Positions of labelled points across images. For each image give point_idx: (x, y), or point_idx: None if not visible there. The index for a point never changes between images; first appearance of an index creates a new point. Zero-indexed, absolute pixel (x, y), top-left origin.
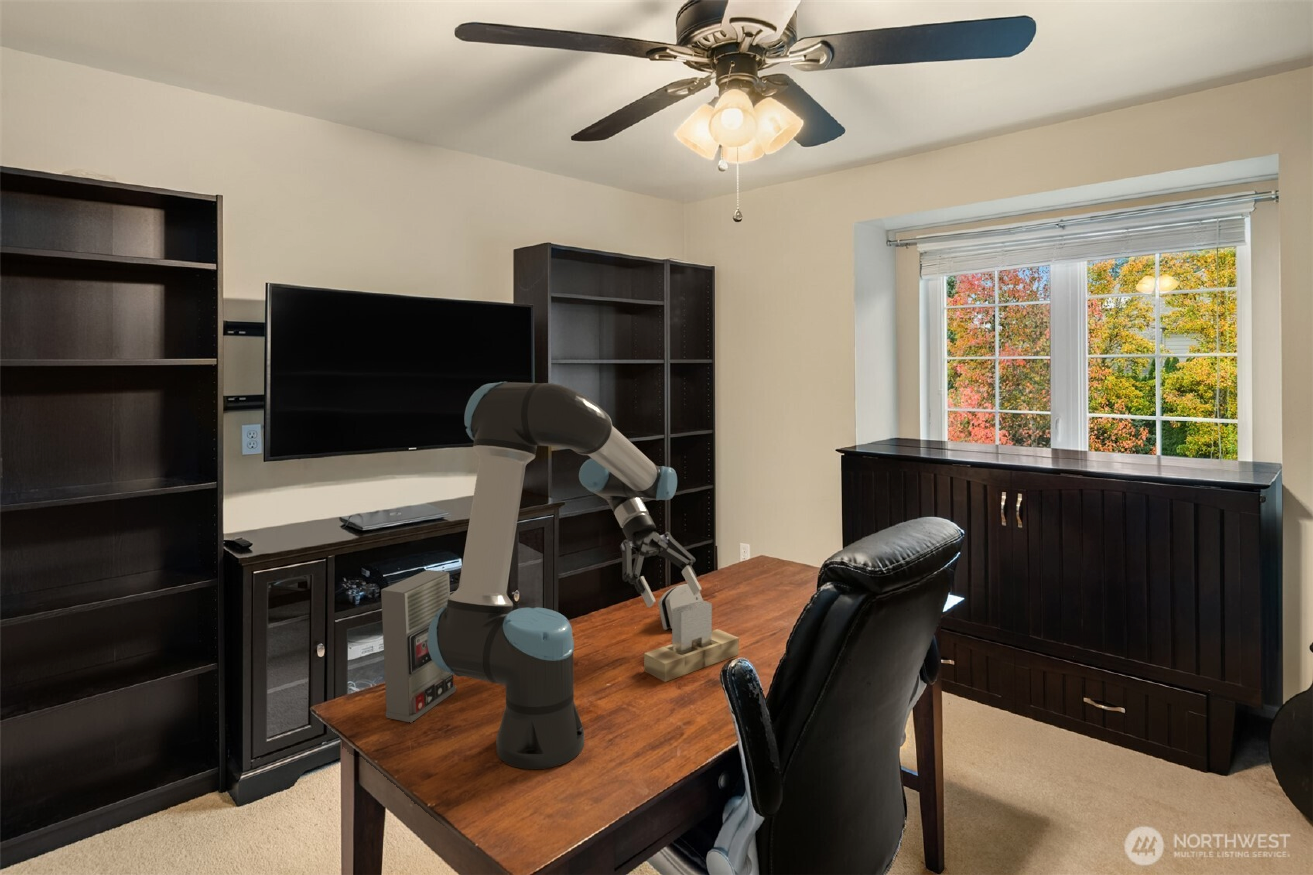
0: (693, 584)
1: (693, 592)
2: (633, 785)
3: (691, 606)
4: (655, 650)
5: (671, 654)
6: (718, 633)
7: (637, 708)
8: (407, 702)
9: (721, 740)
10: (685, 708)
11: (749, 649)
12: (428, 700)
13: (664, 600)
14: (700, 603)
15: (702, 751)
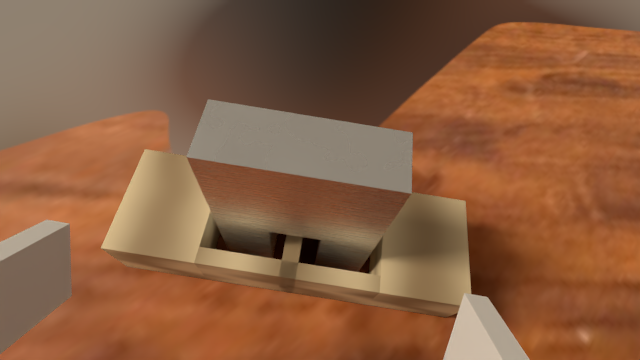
0: (19, 283)
1: (57, 296)
2: None
3: (312, 144)
4: (425, 292)
5: (404, 228)
6: (144, 218)
7: (574, 186)
8: None
9: (502, 30)
10: (486, 118)
11: (106, 175)
12: None
13: None
14: (244, 135)
15: (547, 34)
